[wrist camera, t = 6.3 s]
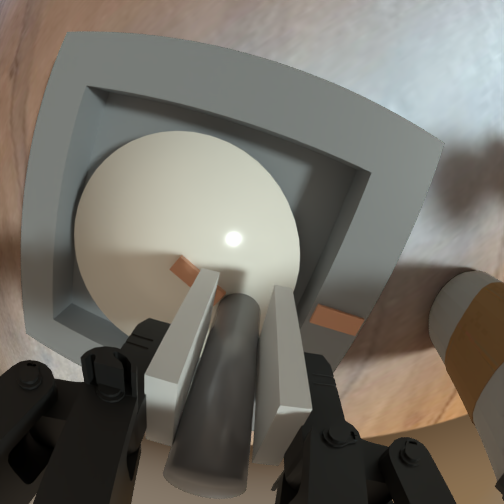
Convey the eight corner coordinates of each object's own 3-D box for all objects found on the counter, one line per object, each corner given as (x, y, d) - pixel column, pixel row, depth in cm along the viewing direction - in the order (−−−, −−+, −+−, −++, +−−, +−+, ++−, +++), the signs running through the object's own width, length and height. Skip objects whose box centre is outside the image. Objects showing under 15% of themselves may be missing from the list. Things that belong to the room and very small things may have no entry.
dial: (62, 252, 16) (-65, 339, 6) (169, 88, 13) (7, 10, 2) (202, 371, 18) (158, 521, 8) (344, 243, 15) (450, 399, 4)
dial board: (95, 45, 13) (65, 31, 10) (415, 143, 14) (446, 143, 11) (48, 313, 19) (24, 334, 16) (284, 405, 20) (284, 439, 17)
